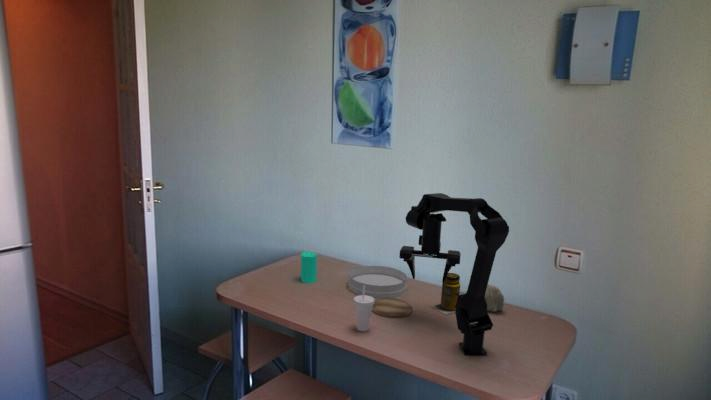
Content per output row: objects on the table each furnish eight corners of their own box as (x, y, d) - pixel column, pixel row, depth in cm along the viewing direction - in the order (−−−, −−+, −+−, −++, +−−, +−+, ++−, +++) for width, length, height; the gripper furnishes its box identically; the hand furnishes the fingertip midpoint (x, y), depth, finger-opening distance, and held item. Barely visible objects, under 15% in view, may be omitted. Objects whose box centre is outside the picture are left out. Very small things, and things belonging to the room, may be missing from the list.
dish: (393, 303, 174) (394, 290, 173) (337, 291, 183) (338, 278, 182) (414, 284, 193) (415, 272, 192) (363, 273, 203) (363, 262, 202)
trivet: (415, 318, 162) (415, 314, 162) (372, 317, 161) (373, 314, 161) (408, 301, 176) (408, 298, 176) (368, 300, 175) (368, 297, 175)
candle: (298, 278, 193) (299, 248, 191) (313, 276, 196) (313, 247, 193) (303, 283, 188) (304, 253, 186) (318, 282, 190) (319, 251, 188)
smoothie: (348, 329, 152) (350, 286, 149) (358, 322, 157) (360, 280, 155) (367, 335, 149) (369, 291, 146) (376, 327, 154) (378, 284, 152)
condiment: (463, 309, 171) (466, 276, 168) (445, 314, 166) (448, 280, 164) (448, 302, 176) (451, 270, 174) (430, 307, 172) (433, 273, 169)
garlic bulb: (500, 320, 169) (510, 298, 164) (476, 314, 170) (485, 292, 165) (497, 301, 177) (506, 280, 173) (474, 296, 178) (482, 274, 173)
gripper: (462, 229, 161) (458, 275, 164) (405, 224, 166) (402, 269, 168) (461, 238, 151) (457, 287, 154) (400, 232, 155) (397, 280, 158)
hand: (428, 280), depth 159 cm, fingers open, 9 cm apart
